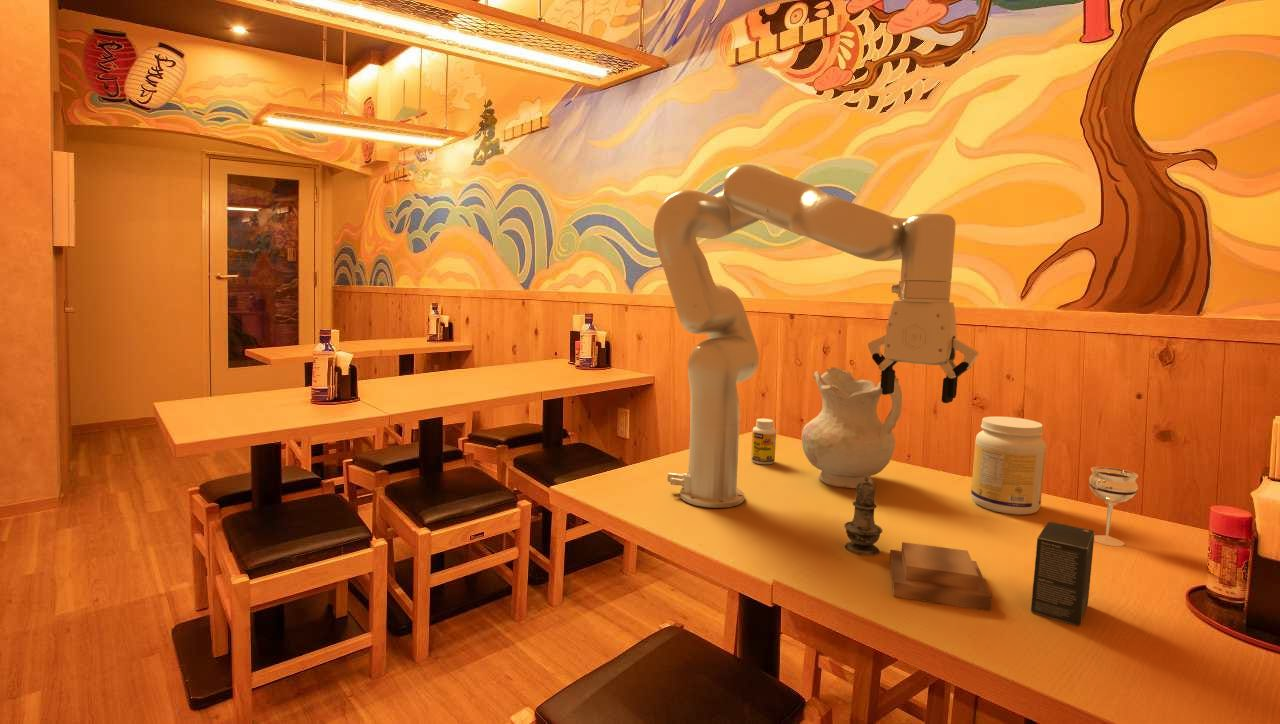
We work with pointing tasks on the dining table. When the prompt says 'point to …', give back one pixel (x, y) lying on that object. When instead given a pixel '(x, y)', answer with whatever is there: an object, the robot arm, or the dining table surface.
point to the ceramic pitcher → (850, 429)
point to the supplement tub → (1009, 465)
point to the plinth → (938, 576)
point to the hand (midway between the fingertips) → (916, 397)
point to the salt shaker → (863, 522)
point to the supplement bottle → (763, 442)
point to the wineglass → (1112, 494)
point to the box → (1062, 572)
